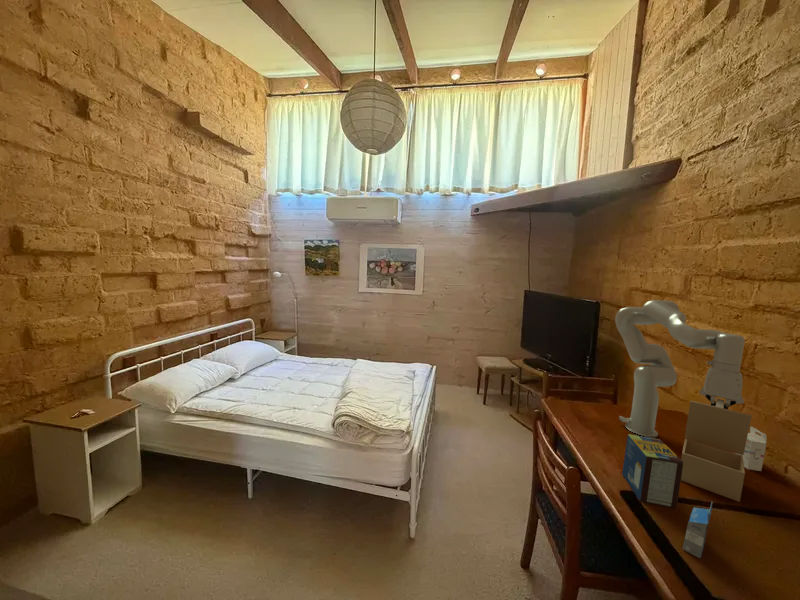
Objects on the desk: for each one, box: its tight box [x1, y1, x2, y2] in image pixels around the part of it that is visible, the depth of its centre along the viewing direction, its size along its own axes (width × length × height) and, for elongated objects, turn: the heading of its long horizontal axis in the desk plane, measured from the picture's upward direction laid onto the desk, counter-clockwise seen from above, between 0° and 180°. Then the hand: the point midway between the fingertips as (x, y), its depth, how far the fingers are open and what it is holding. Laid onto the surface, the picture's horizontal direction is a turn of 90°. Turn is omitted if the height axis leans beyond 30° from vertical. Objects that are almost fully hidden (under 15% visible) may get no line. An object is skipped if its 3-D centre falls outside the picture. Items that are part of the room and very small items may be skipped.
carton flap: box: [684, 398, 753, 455], centre depth 129 cm, size 16×16×7 cm
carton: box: [680, 437, 746, 503], centre depth 124 cm, size 16×16×10 cm
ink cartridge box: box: [732, 425, 768, 472], centre depth 137 cm, size 9×5×15 cm, turn 168°
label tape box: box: [682, 502, 713, 559], centre depth 92 cm, size 9×4×12 cm, turn 133°
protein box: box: [621, 433, 684, 509], centre depth 116 cm, size 10×15×16 cm
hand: (718, 414), depth 130 cm, fingers closed on carton flap, 2 cm apart
